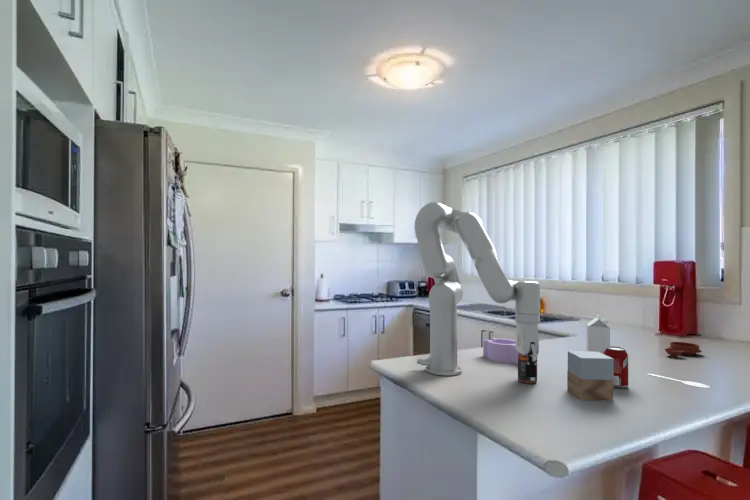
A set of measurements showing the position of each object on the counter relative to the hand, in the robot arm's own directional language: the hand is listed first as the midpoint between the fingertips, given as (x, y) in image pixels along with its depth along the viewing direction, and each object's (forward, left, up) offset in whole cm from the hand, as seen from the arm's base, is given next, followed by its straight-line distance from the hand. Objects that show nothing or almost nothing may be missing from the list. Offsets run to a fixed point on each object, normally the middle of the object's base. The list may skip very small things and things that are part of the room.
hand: (527, 373), depth 133 cm
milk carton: (+34, +24, -3) cm, 42 cm away
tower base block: (+14, -12, -3) cm, 19 cm away
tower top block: (+14, -12, +3) cm, 19 cm away
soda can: (+27, -2, -3) cm, 27 cm away
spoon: (+51, +6, -3) cm, 51 cm away
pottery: (+79, +46, -3) cm, 91 cm away
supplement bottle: (0, 0, -3) cm, 3 cm away
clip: (+2, +30, -3) cm, 30 cm away
